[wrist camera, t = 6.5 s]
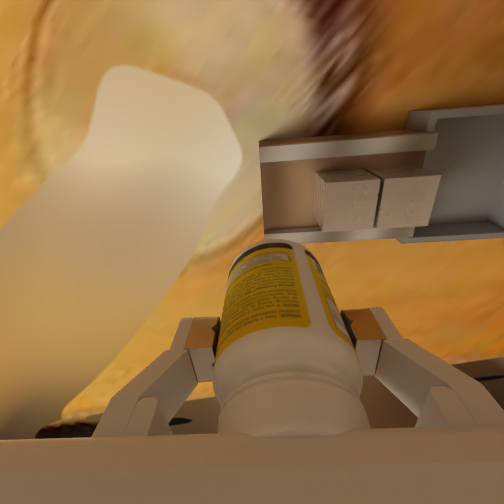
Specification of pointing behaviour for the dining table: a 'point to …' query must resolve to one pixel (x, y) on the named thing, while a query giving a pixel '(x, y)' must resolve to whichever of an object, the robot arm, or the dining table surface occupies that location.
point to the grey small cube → (345, 199)
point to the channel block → (328, 159)
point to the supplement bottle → (284, 349)
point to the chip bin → (464, 172)
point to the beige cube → (404, 196)
